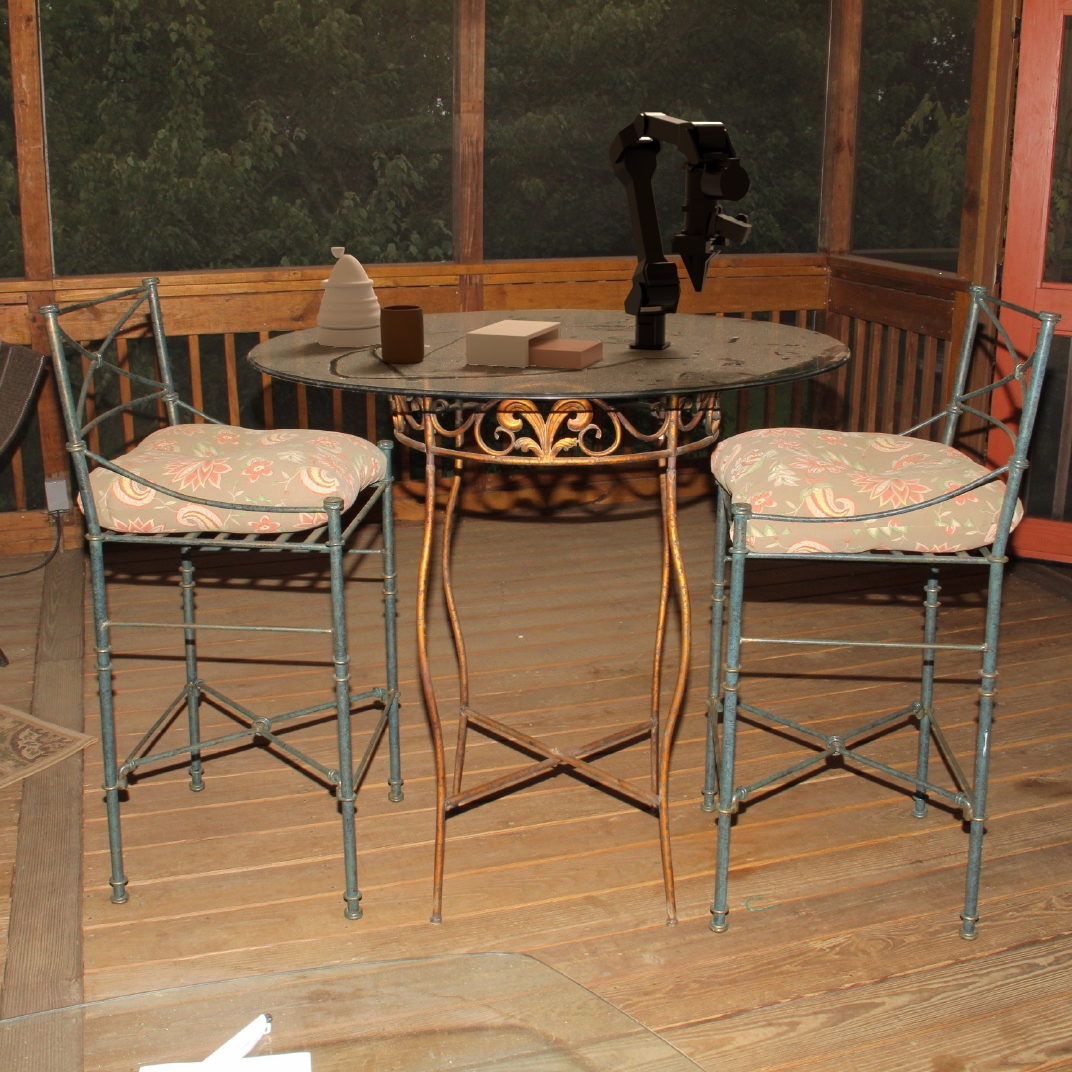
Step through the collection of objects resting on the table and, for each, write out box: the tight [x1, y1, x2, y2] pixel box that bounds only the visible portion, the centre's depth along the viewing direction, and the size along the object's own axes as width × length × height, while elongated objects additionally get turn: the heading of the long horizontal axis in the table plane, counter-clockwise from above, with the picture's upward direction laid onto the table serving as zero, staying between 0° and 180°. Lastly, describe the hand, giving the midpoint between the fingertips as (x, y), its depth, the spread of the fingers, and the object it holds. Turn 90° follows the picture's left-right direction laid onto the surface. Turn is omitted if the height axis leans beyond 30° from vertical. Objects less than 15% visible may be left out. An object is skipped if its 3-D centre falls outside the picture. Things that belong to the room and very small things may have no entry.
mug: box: [380, 304, 425, 365], centre depth 226 cm, size 12×8×9 cm, turn 10°
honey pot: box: [316, 246, 381, 348], centre depth 243 cm, size 13×13×18 cm
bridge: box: [465, 319, 562, 368], centre depth 226 cm, size 18×11×6 cm, turn 159°
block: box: [528, 338, 604, 370], centre depth 225 cm, size 12×18×4 cm, turn 70°
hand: (698, 291), depth 221 cm, fingers closed
